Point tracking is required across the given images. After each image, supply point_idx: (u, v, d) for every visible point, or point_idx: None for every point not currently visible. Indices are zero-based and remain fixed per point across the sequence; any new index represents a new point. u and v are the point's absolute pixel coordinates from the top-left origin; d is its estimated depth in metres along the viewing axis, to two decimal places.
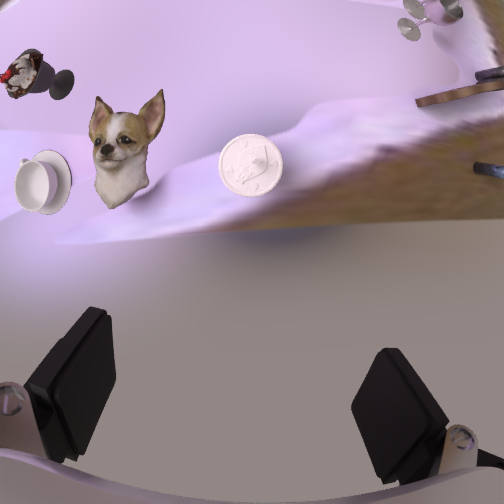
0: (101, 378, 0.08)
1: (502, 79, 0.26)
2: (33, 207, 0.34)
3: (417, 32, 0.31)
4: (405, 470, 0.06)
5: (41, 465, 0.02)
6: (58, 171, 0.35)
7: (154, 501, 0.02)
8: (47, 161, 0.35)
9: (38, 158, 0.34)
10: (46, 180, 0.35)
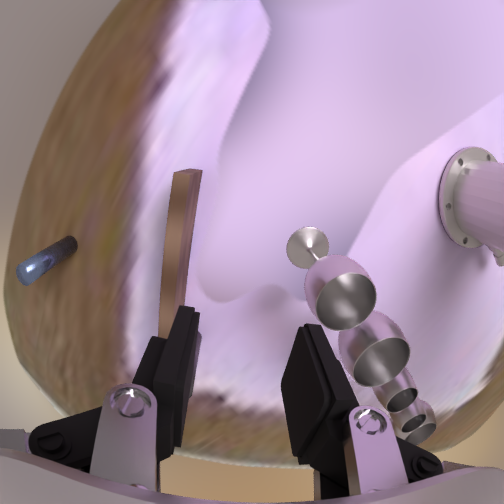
0: (191, 372, 0.09)
1: None
2: None
3: (297, 259, 0.30)
4: (313, 449, 0.07)
5: (41, 465, 0.02)
6: None
7: (153, 500, 0.02)
8: None
9: None
10: None
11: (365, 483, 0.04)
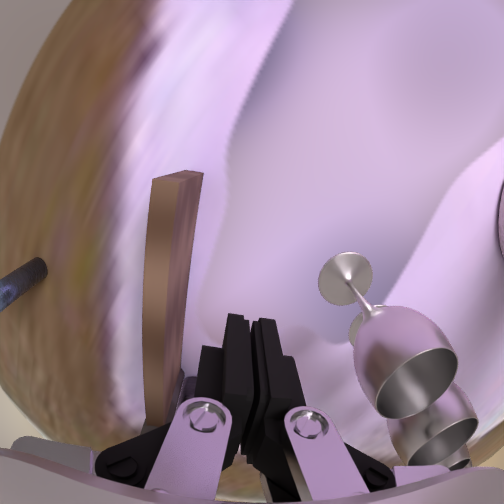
0: None
1: None
2: None
3: (332, 295, 0.22)
4: (255, 449, 0.07)
5: (41, 465, 0.02)
6: None
7: (153, 500, 0.02)
8: None
9: None
10: None
11: (318, 495, 0.04)
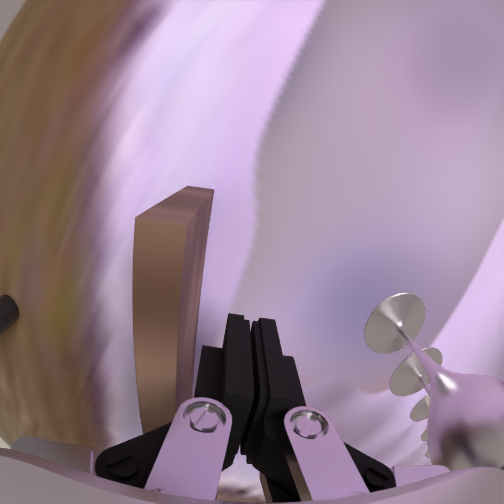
0: None
1: None
2: None
3: (379, 343, 0.16)
4: (255, 449, 0.07)
5: (41, 465, 0.02)
6: None
7: (153, 500, 0.02)
8: None
9: None
10: None
11: (317, 495, 0.04)
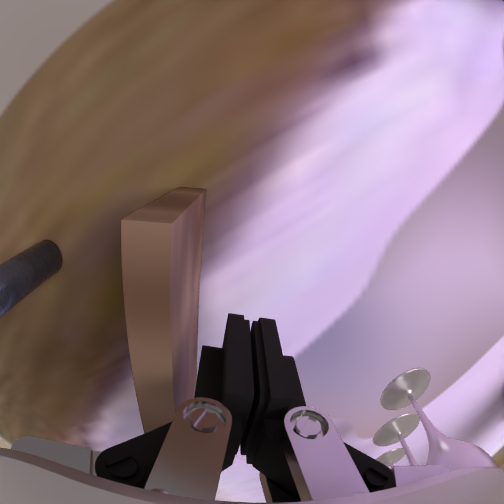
0: None
1: None
2: None
3: (389, 401, 0.18)
4: (255, 449, 0.07)
5: (41, 465, 0.02)
6: None
7: (154, 501, 0.02)
8: None
9: None
10: None
11: (317, 495, 0.04)
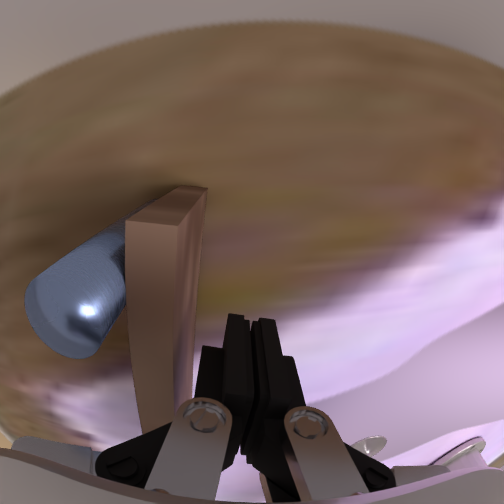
0: None
1: None
2: None
3: None
4: (255, 449, 0.07)
5: (41, 465, 0.02)
6: None
7: (154, 500, 0.02)
8: None
9: None
10: None
11: (317, 495, 0.04)
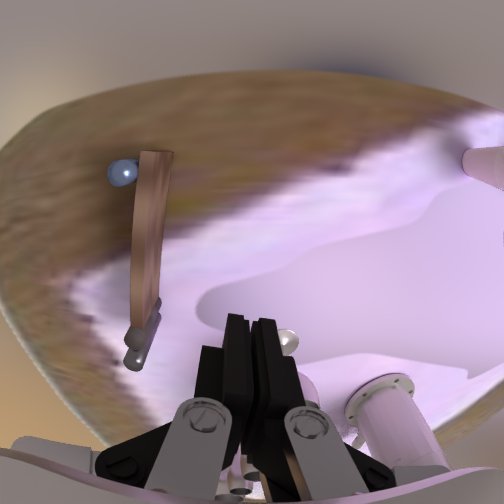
0: None
1: (144, 331, 0.26)
2: None
3: None
4: (255, 449, 0.07)
5: (41, 465, 0.02)
6: None
7: (153, 501, 0.02)
8: None
9: None
10: None
11: (318, 495, 0.04)
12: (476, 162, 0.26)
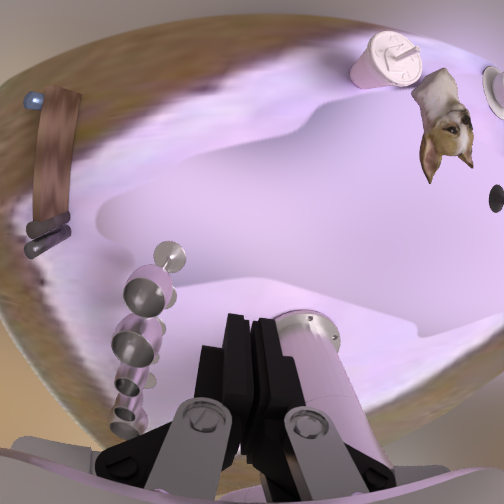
0: None
1: (40, 223, 0.28)
2: None
3: (157, 256, 0.37)
4: (255, 449, 0.07)
5: (41, 465, 0.02)
6: (491, 96, 0.31)
7: (153, 500, 0.02)
8: (499, 108, 0.32)
9: None
10: None
11: (318, 495, 0.04)
12: (356, 67, 0.28)
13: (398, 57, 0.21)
